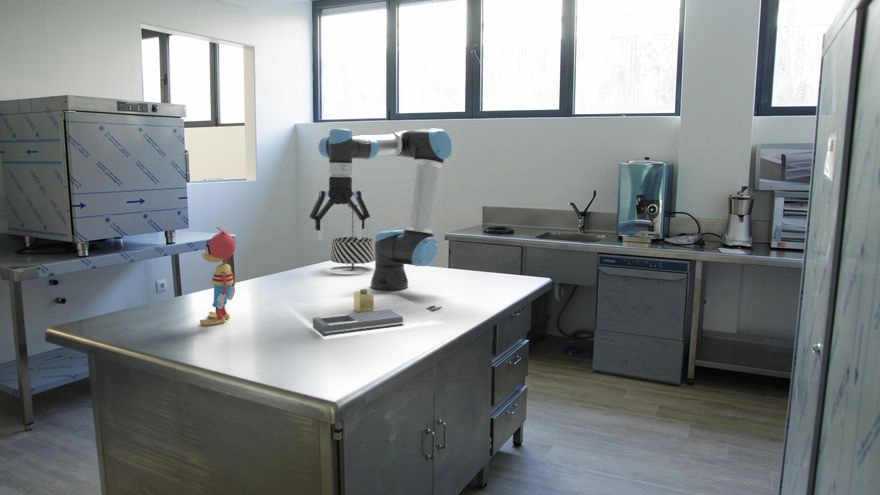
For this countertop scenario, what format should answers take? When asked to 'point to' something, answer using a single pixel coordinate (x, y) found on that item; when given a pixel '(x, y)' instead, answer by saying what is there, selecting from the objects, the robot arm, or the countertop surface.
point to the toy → (220, 276)
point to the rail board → (356, 321)
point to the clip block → (363, 301)
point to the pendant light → (352, 249)
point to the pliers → (432, 309)
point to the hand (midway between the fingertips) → (340, 239)
